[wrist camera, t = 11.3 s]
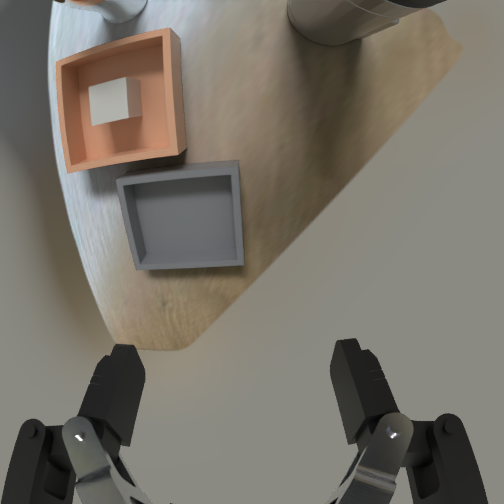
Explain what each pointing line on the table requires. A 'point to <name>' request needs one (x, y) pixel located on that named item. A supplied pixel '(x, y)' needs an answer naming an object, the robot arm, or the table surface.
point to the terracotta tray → (132, 129)
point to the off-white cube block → (115, 100)
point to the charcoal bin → (183, 215)
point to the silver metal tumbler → (108, 8)
